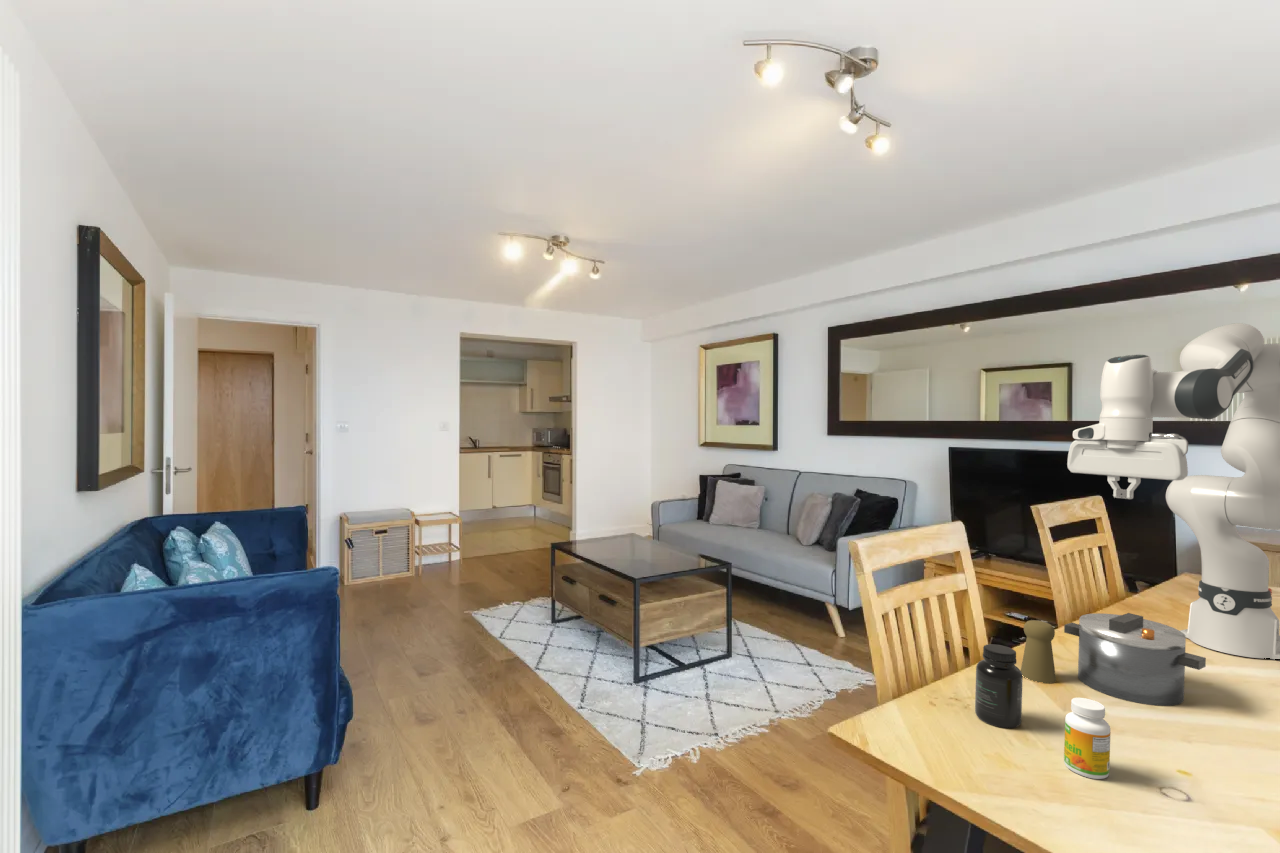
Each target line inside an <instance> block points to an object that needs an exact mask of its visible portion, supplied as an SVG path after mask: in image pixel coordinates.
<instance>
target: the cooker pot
mask: <svg viewBox="0 0 1280 853" xmlns="http://www.w3.org/2000/svg"><path fill="white" fill-rule="evenodd" d="M1063 626H1064V627H1063V631H1064V632H1063V633H1065V634H1068V635H1072V636H1076V637H1078V666H1077V667H1078V668H1077V678H1078V680H1079V681H1080V682H1081V683H1083V684H1084V685H1085V686H1087V687H1088V688H1090V689H1093V690H1095V691H1096V692H1099V693H1101V694H1105V695H1108V696H1111V697H1112V698H1117V699H1120V700H1124V701H1127V702H1131V703H1137V704H1143V705H1149V706H1162V707H1163V706H1164V707H1171V706H1178V705H1180V704H1182V703H1184V700H1185V676H1186V674H1185V673H1186V672H1185V670H1186V668H1191V669H1194V670H1197V671H1199V670H1202V669H1203V668H1206V664H1207V663H1206V662H1207V661H1206V657H1205V656H1200V655H1197V654H1193V653H1188V652H1186V646H1185V647H1184V648H1181V649H1177V650H1153V649H1144V648H1138V647H1132V646H1127V645H1122V644H1117V643H1114V642H1110V641H1106V640H1103V639H1100V638H1097V637H1095V636H1092V635H1090V634H1088V633H1086V632H1084V631H1083V630H1082V629H1081V628H1080V626H1079V624H1078V623H1076V622H1069V623H1065V624H1064V625H1063ZM1185 667H1186V668H1185Z"/></svg>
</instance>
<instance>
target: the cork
mask: <svg viewBox="0 0 1280 853" xmlns="http://www.w3.org/2000/svg"><path fill="white" fill-rule="evenodd" d="M1023 631H1024V634H1025V636H1026V638H1025V639H1026V640H1025V644H1024V650H1023V656H1022V661H1021V667H1020V671H1021V672H1022V675H1023V676H1024V677H1026V678H1028V679H1030V680H1029V681H1031V680H1033V681H1032V682H1035V681H1037V682H1036V683H1039V682H1043V683H1042V684H1054V682H1055V681H1056V682H1057V676H1056V670H1055V662H1054V660H1055V659H1054V654H1053V653H1054V652H1053V645H1052V641H1053V640H1054V638H1055V634H1056V632H1055V628H1054V626H1053V625H1052V624H1050V623H1048V622H1045V621H1042V620H1034V619H1033V620H1032V619H1031V620H1030V619H1029V620H1027V621H1026V622H1025V623H1024V626H1023ZM1024 677H1023V678H1024ZM1026 678H1025V679H1026ZM1028 679H1027V680H1028ZM1056 682H1055V683H1056Z"/></svg>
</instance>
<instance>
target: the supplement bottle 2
mask: <svg viewBox="0 0 1280 853" xmlns="http://www.w3.org/2000/svg"><path fill="white" fill-rule="evenodd" d="M1070 703H1071V704H1070V710H1071V712H1068V713H1067V714H1066V715H1065V718H1064V747H1063V748H1064V749H1063V751H1064V752H1063V763H1064V765H1065V767H1067V769H1068V770H1070V771H1071V772H1073V773H1075V774H1077V775H1079V776H1083V777H1085V778H1088V779H1092V780H1103V779H1106V778H1108V777H1109V775H1110V765H1111V764H1110V762H1111V758H1110V757H1111V756H1110V755H1111V726H1110V724H1109V723H1108V721H1106V720H1105V717H1106V707H1105V705H1103V704H1102V703H1101V702H1099V701H1097V700H1094V699H1090V698H1085V697H1073V698H1071V702H1070Z"/></svg>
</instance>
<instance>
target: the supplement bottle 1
mask: <svg viewBox="0 0 1280 853" xmlns="http://www.w3.org/2000/svg"><path fill="white" fill-rule="evenodd" d="M982 648H983V650H982V652H983V653H982V658H983V659H982V660H979V661H978V662H977V664H976V667H975V691H974V692H975V696H974V705H975V706H974V711H975V712H974V714H975V716H976V717H977V718H978V719H979V720H980V721H981V722H984V723H986V724H988V725H991V726H993V727H997V728H1000V729H1001V728H1002V729H1014V728H1015V729H1016V728H1018V727H1019V726H1020V725H1021V724H1022V715H1023V711H1022V710H1023V705H1022V704H1023V678H1024V677H1023V676H1022V672H1021V668H1019V667H1018V666H1016V665H1017V652H1016V650H1015V649H1013V648H1011V647H1009V646H1006V645H1001V644H995V643H994V644H993V643H992V644H991V643H990V644H985V645H983V647H982Z"/></svg>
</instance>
